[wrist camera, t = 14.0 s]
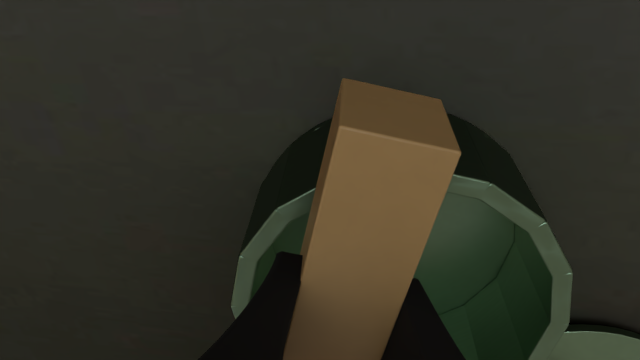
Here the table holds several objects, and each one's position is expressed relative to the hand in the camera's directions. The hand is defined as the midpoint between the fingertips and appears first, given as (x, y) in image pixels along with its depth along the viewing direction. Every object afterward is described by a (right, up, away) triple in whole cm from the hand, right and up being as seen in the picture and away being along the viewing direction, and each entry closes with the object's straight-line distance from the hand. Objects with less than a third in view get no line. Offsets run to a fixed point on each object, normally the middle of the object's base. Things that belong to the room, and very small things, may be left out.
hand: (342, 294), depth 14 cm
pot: (+3, +1, +10) cm, 11 cm away
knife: (-1, -2, +3) cm, 4 cm away
